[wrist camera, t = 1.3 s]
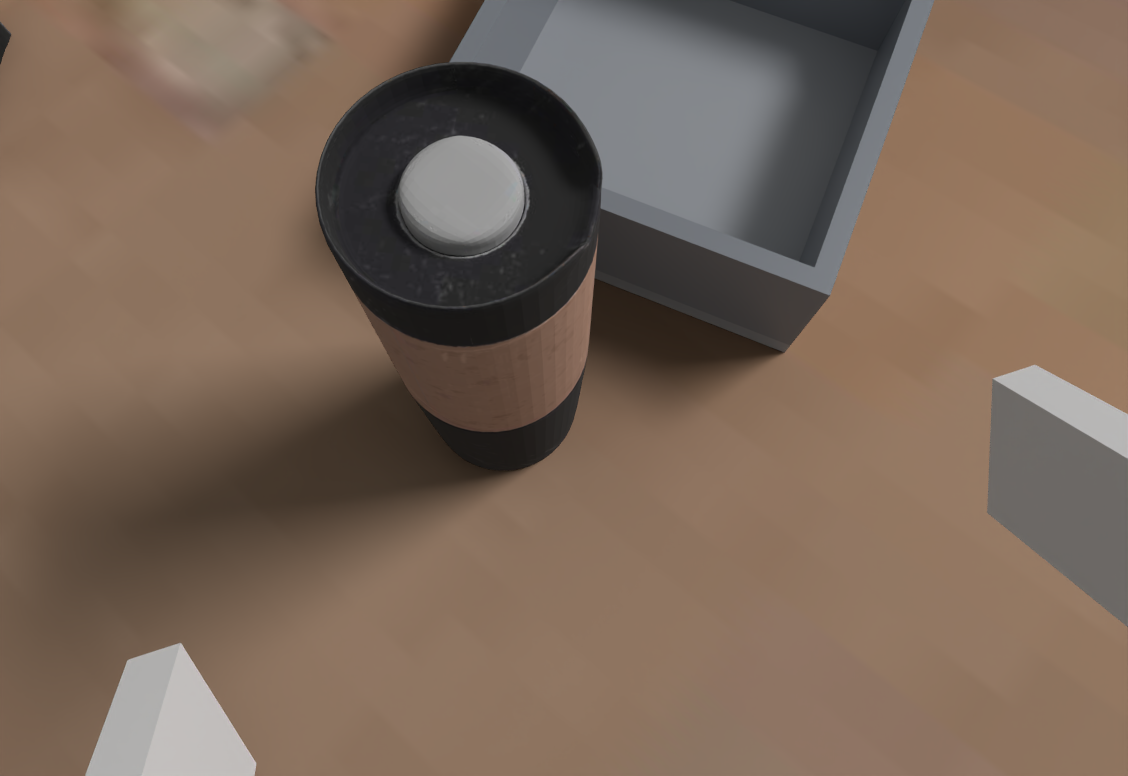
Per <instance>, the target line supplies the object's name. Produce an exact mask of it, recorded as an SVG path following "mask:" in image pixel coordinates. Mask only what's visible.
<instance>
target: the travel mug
mask: <svg viewBox="0 0 1128 776" xmlns="http://www.w3.org/2000/svg"><path fill="white" fill-rule="evenodd" d="M602 179H603V172H602V165H601V160H600V157H599V154H598V151H597V149H596V146H595V144H594V142H593V140H592V138H591V136H590V134H589V132H588V131H587V129H586V127H585V125H584V124H583V123H582V121H581V120H580V118H579V117H578V116H577V114H576V113H575V112H574V111H573V110H572V108H571V107H570V106H569V105H568V104H567V103H566V102H565V101H564V100H563V99H562V98H561V97H559V96H558V95H557V94H556V93H555V92H553V91H552V90H551V89H549V88H548V87H546V86H545V85H543V84H542V83H540V82H539V81H537V80H535V79H533V78H531V77H529V76H527V75H525V74H522V73H520V72H517V71H514V70H511V69H508V68H505V67H501V66H496V65H492V64H486V63H477V62H448V63H439V64H433V65H429V66H424V67H419V68H416V69H413V70H410V71H407V72H404V73H402V74H399V75H397V76H395V77H393V78H391V79H389V80H387V81H385V82H383V83H382V84H380V85H378V86H377V87H375V88H373V89H372V90H370V91H369V92H368V93H367V94H365V95H364V96H363V97H362V98H360V99H359V100H358V101H357V102H356V103H355V104H354V105H353V106H352V107H351V108H350V109H349V110H348V111H347V112H346V113H345V114H344V116H343V117H342V118H341V119H340V121H339V122H338V123H337V125H336V126H335V128H334V130H333V131H332V133H331V135H330V136H329V138H328V140H327V142H326V145H325V147H324V150H323V152H322V155H321V158H320V162H319V166H318V170H317V176H316V186H315V194H316V207H317V212H318V217H319V222H320V226H321V228H322V231H323V234H324V236H325V239H326V242H327V244H328V246H329V248H330V250H331V252H332V253H333V255H334V257H335V259H336V261H337V262H338V264H339V266H340V268H341V270H342V271H343V273H344V275H345V277H346V279H347V280H348V282H349V284H350V286H351V288H352V290H353V291H354V293H355V295H356V297H357V299H358V300H359V302H360V304H361V306H362V308H363V309H364V311H365V313H366V315H367V317H368V319H369V320H370V322H371V324H372V326H373V328H374V329H375V331H376V333H377V335H378V337H379V339H380V340H381V342H382V344H383V346H384V348H385V349H386V351H387V353H388V355H389V357H390V358H391V360H392V362H393V364H394V366H395V368H396V369H397V371H398V373H399V375H400V377H401V378H402V380H403V382H404V384H405V386H406V387H407V389H408V391H409V392H410V394H411V395H412V396H413V398H414V399H415V401H416V402H417V403H418V405H419V406H420V408H421V409H422V410H423V412H424V413H425V415H426V416H427V417H428V419H429V420H430V422H431V423H432V424H433V426H434V427H435V429H436V430H437V431H438V433H439V434H440V435H441V437H442V438H443V439H444V441H445V442H446V443H447V444H448V446H449V447H450V448H451V449H452V450H453V451H454V452H455V453H457V454H458V455H459V456H461V457H462V458H463V459H465V460H467V461H468V462H470V463H472V464H474V465H477V466H479V467H483V468H487V469H491V470H515V469H520V468H524V467H528V466H530V465H532V464H535V463H537V462H539V461H541V460H542V459H544V458H545V457H547V456H548V455H549V454H551V453H552V452H553V451H554V450H555V449H556V448H557V447H558V446H559V445H560V444H561V442H562V441H563V440H564V438H565V437H566V435H567V433H568V432H569V429H570V427H571V425H572V422H573V420H574V416H575V412H576V408H577V404H578V399H579V394H580V389H581V384H582V380H583V375H584V370H585V365H586V360H587V354H588V346H589V336H590V324H591V312H592V301H593V289H594V277H595V265H596V254H597V242H598V231H599V219H600V207H601V189H602Z"/></svg>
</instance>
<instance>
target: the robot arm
mask: <svg viewBox="0 0 1128 776" xmlns="http://www.w3.org/2000/svg"><path fill="white" fill-rule="evenodd" d="M987 513H988V514H989V515H991V516H992V517H993V518H994V519H996V520H997V521H998V522H999V523H1000V524H1002V525H1003V526H1004V527H1005V528H1007V529H1008V530H1009V531H1010V532H1012V533H1013V534H1014V535H1015V536H1016V537H1018V538H1019V539H1020V540H1021V541H1023V542H1024V543H1025V544H1026V545H1028V546H1029V547H1030V548H1031V549H1032V550H1034V551H1035V552H1036V553H1037V554H1039V555H1040V556H1041V557H1042V558H1043V559H1045V560H1046V561H1047V562H1048V563H1050V564H1051V565H1052V566H1053V567H1055V568H1056V569H1057V570H1058V571H1059V572H1061V573H1062V574H1063V575H1064V576H1066V577H1067V578H1068V579H1069V580H1071V581H1072V582H1073V583H1074V584H1075V585H1077V586H1078V587H1079V588H1080V589H1082V590H1083V591H1084V592H1085V593H1087V594H1088V595H1089V596H1090V597H1091V598H1093V599H1094V600H1095V601H1096V602H1098V603H1099V604H1100V605H1101V606H1102V607H1104V608H1105V609H1106V610H1107V611H1109V612H1110V613H1111V614H1112V615H1114V616H1115V617H1116V618H1117V619H1118V620H1120V621H1121V622H1122V623H1123V624H1125V625H1126V626H1127V627H1128V414H1126V413H1124V412H1122V411H1121V410H1119V409H1117V408H1115V407H1113V406H1111V405H1109V404H1107V403H1106V402H1104V401H1102V400H1100V399H1098V398H1096V397H1094V396H1093V395H1091V394H1089V393H1087V392H1085V391H1083V390H1081V389H1079V388H1078V387H1076V386H1074V385H1072V384H1070V383H1068V382H1066V381H1064V380H1063V379H1061V378H1059V377H1057V376H1055V375H1053V374H1051V373H1049V372H1048V371H1046V370H1044V369H1042V368H1040V367H1038V366H1036V365H1033V366H1030V367H1027V368H1024V369H1021V370H1018V371H1015V372H1012V373H1009V374H1005V375H1002V376H999V377H996V378H993V383H992V408H991V433H990V458H989V483H988V508H987ZM255 769H256V762H255V761H254V759H253V757H252V756H251V754H250V753H249V751H248V749H247V748H246V746H245V745H244V743H243V741H242V740H241V738H240V737H239V735H238V733H237V732H236V730H235V729H234V727H233V725H232V724H231V722H230V721H229V719H228V717H227V716H226V714H225V713H224V711H223V709H222V708H221V706H220V705H219V703H218V702H217V700H216V698H215V697H214V695H213V694H212V692H211V690H210V689H209V687H208V686H207V684H206V682H205V681H204V679H203V678H202V676H201V674H200V673H199V671H198V670H197V668H196V666H195V665H194V663H193V662H192V660H191V658H190V657H189V655H188V654H187V652H186V650H185V649H184V647H183V646H182V644H181V643H178V644H175V645H172V646H169V647H166V648H163V649H160V650H157V651H154V652H150V653H147V654H144V655H141V656H138V657H135V658H132V659H129V660H128V661H127V663H126V666H125V669H124V671H123V674H122V677H121V680H120V682H119V685H118V688H117V691H116V693H115V696H114V699H113V701H112V704H111V707H110V710H109V712H108V715H107V718H106V720H105V723H104V726H103V729H102V731H101V734H100V737H99V740H98V742H97V745H96V748H95V750H94V753H93V756H92V759H91V761H90V764H89V767H88V769H87V772H86V775H85V776H255Z"/></svg>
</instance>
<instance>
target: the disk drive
mask: <svg viewBox="0 0 1128 776" xmlns="http://www.w3.org/2000/svg"><path fill="white" fill-rule="evenodd" d="M10 37H11V33H10V32H9V31H8V30H7V29H6V28H5V27H4V25H3V24H2V23H1V22H0V63H1V61H2V57H3V54H4V52H5V49H6V47H7V45H8V42H9V39H10Z"/></svg>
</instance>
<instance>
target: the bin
mask: <svg viewBox="0 0 1128 776" xmlns="http://www.w3.org/2000/svg"><path fill="white" fill-rule="evenodd" d="M933 2H934V0H485V1H484V3H483V4H482V6H481V8H480V10H479V11H478V13H477V15H476V17H475V18H474V20H473V22H472V24H471V25H470V27H469V29H468V31H467V32H466V34H465V36H464V38H463V39H462V41H461V43H460V45H459V46H458V48H457V50H456V52H455V53H454V55H453V57H452V59H451V60H450V62H477V63H486V64H492V65H496V66H501V67H505V68H508V69H511V70H514V71H517V72H520V73H522V74H525V75H527V76H529V77H531V78H533V79H535V80H537V81H539V82H540V83H542V84H543V85H545V86H546V87H548V88H549V89H551V90H552V91H553V92H555V93H556V94H557V95H558V96H559V97H561V98H562V99H563V100H564V101H565V102H566V103H567V104H568V105H569V106H570V107H571V108H572V110H573V111H574V112H575V113H576V114H577V116H578V117H579V118H580V120H581V121H582V123H583V124H584V125H585V127H586V129H587V131H588V132H589V134H590V136H591V138H592V140H593V142H594V144H595V146H596V149H597V151H598V154H599V157H600V160H601V165H602V172H603V179H602V189H601V207H600V219H599V231H598V242H597V254H596V265H595V277H594V278H595V279H598V280H600V281H603V282H606V283H608V284H611V285H613V286H616V287H618V288H621V289H623V290H626V291H629V292H631V293H634V294H636V295H639V296H641V297H644V298H646V299H649V300H652V301H654V302H657V303H659V304H662V305H664V306H667V307H669V308H672V309H675V310H677V311H680V312H682V313H685V314H687V315H690V316H692V317H695V318H698V319H700V320H703V321H705V322H708V323H710V324H713V325H715V326H718V327H721V328H723V329H726V330H728V331H731V332H733V333H736V334H738V335H741V336H744V337H746V338H749V339H751V340H754V341H756V342H759V343H761V344H764V345H767V346H769V347H772V348H774V349H777V350H779V351H782V352H784V353H785V351H786V350H787V349H788V348H789V346H790V345H791V344H792V343H793V341H794V340H795V339H796V338H797V336H798V335H799V334H800V332H801V331H802V330H803V329H804V327H805V326H806V325H807V324H808V322H809V321H810V320H811V319H812V317H813V316H814V315H815V314H816V312H817V311H818V310H819V309H820V307H821V306H822V305H823V304H824V302H825V301H826V300H827V299H828V297H829V296H830V294H831V291H832V288H833V285H834V283H835V280H836V277H837V274H838V271H839V268H840V266H841V263H842V260H843V257H844V254H845V251H846V249H847V246H848V243H849V240H850V237H851V234H852V232H853V229H854V226H855V223H856V220H857V217H858V215H859V212H860V209H861V206H862V203H863V200H864V198H865V195H866V192H867V189H868V186H869V183H870V181H871V178H872V175H873V172H874V169H875V166H876V164H877V161H878V158H879V155H880V152H881V150H882V147H883V144H884V141H885V138H886V135H887V133H888V130H889V127H890V124H891V121H892V118H893V116H894V113H895V110H896V107H897V104H898V101H899V99H900V96H901V93H902V90H903V87H904V84H905V82H906V79H907V76H908V73H909V70H910V67H911V65H912V62H913V59H914V56H915V53H916V50H917V48H918V45H919V42H920V39H921V36H922V33H923V31H924V28H925V25H926V22H927V19H928V16H929V14H930V11H931V8H932V5H933Z"/></svg>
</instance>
